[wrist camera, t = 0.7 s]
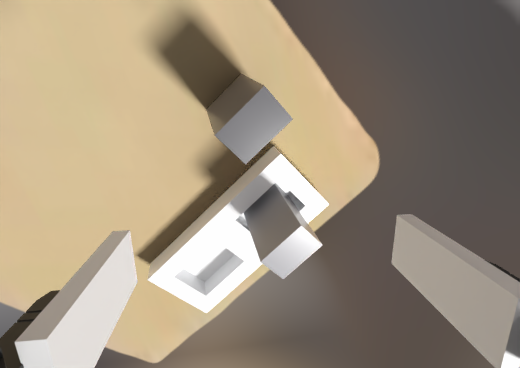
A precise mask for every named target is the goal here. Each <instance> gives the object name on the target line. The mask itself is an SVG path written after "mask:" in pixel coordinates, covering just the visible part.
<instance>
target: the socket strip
mask: <svg viewBox="0 0 520 368" xmlns="http://www.w3.org/2000/svg"><path fill="white" fill-rule="evenodd" d="M328 205H329V204H328V202H327V201H326V200H325V199H324V198H323V197H322V196H321V195H320V194H319V193H318V192H317V190H316V189H315V188H314V187H313V186H312V185H311V184H310V183H309V182H308V181H307V180H306V179H305V178H304V177H303V176H302V175H301V174H300V173H299V172H298V171H297V170H296V168H295V167H294V166H293V165H292V164H291V163H290V162H289V161H288V160H287V159H286V158H285V157H284V156H283V155H282V154H281V153H280V152H279V151H278V150H277V149H276V148H275V146H273V147H272V148H270V149H269V150H268V151H267V152H266V153H265V154H264V155H263V156H262V157H261V158H260V159H259V160H258V161H257V162H256V163H255V164H254V165H253V166H252V167H251V168H250V169H249V170H247V171H246V172H245V173H244V174H243V175H242V176H241V177H240V178H239V179H238V180H237V181H236V182H235V183H234V184H233V185H232V186H231V187H230V188H229V189H228V190H227V191H226V192H224V193H223V194H222V195H221V196H220V197H219V198H218V199H217V200H216V201H215V202H214V203H213V204H212V205H211V206H210V207H209V208H208V209H207V210H206V211H205V212H204V213H203V214H201V215H200V216H199V217H198V218H197V219H196V220H195V221H194V222H193V223H192V224H191V225H190V226H189V227H188V228H187V229H186V230H185V231H184V232H183V233H182V234H181V235H180V236H178V237H177V238H176V239H175V240H174V241H173V242H172V243H171V244H170V245H169V246H168V247H167V248H166V249H165V250H164V251H163V252H162V253H161V254H160V255H159V256H158V257H157V258H155V259H154V260H153V261H152V262H151V263H150V268H149V274H148V281H150V282H152V283H154V284H155V285H157V286H159V287H161V288H163V289H164V290H166V291H168V292H170V293H171V294H173V295H175V296H177V297H178V298H180V299H182V300H184V301H186V302H187V303H189V304H191V305H193V306H194V307H196V308H198V309H200V310H202V311H203V312H205V313H208V312H209V311H210V310H211V309H212V308H213V307H214V306H215V305H217V304H218V303H219V302H220V301H221V300H222V299H223V298H224V297H226V296H227V295H228V294H229V293H230V292H231V291H232V290H233V289H235V288H236V287H237V286H238V285H239V284H240V283H241V282H242V281H244V280H245V279H246V278H247V277H248V276H249V275H250V274H251V273H253V272H254V271H255V270H256V269H257V268H258V267H259V266H260V265H262V264H264V265H265V266H266V267H268V268H269V269H270V270H272V271H273V272H274V273H276V274H277V275H278V276H280V277H281V278H282V279H284V278H285V277H286V276H288V275H289V274H290V273H291V272H292V271H293V270H294V269H296V268H297V267H298V266H299V265H300V264H301V263H303V262H304V261H305V260H306V259H307V258H308V257H309V256H310V255H312V254H313V253H314V252H315V251H316V250H317V249H319V248H320V247H321V246H322V243H321V242H320V241H319V239H318V238H317V236H316V235H315V233H314V232H313V230H312V229H311V227H310V226H309V225H308V223H309V222H310V221H311V220H312V219H313V218H314V217H315V216H317V215H318V214H319V213H320V212H321V211H322V210H323V209H324V208H326V207H327V206H328Z"/></svg>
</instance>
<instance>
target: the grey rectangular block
mask: <svg viewBox="0 0 520 368" xmlns="http://www.w3.org/2000/svg"><path fill="white" fill-rule="evenodd" d="M206 110H207V113H208V116H209V119H210V122H211V126H212V129H213V132H214V135H215V136H216V137H217V138H218V139H219V140H220V141H221V142H222V143H223V144H224V145H225V146H226V147H228V148H229V149H230V150H231V151H232V152H233V153H234V154H235V155H236V156H237V157H238V158H239V159H240V160H241V161H242V162H243V163H245V164H247V163H248V162H249V161H250V160H251V159H252V158H253V157H254V156H255V155H256V154H257V153H258V152H259V151H260V150H261V149H262V148H263V147H264V146H265V145H267V144H268V143H269V142H270V141H271V140H272V139H273V138H274V137H275V136H276V135H277V134H278V133H279V132H280V131H281V130H282V129H283V128H284V127H285V126H286V125H287V124H288V123H289V122H290V121H291V120H293V119H292V117H291V116H290V115H289V114H288V113H287V112H286V110H285V109H284V108H283V107H282V106H281V105H280V103H279V102H278V101H277V100H276V99H275V98H274V96H273V95H272V94H271V93H270V92H269V91H268V89H267V88H266V87H265V86H264V85H262V84H260V83H258V82H256V81H254V80H252V79H250V78H248V77H246V76H244V75H242V74H240V75H239V76H238V77H237V78H236V79H235V80H234V81H233V82H232V84H231V85H230V86H229V87H228V88H227V89H226V90H225V91H224V92H223V93H222V94H221V95H220V96H219V97H218V98H217V99H216V100H215V101H214V102H213V103H212V104H211V105H210V106H209V107H208V108H207V109H206Z"/></svg>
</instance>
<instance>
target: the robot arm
mask: <svg viewBox="0 0 520 368" xmlns="http://www.w3.org/2000/svg"><path fill="white" fill-rule="evenodd" d="M392 264H393V265H394V266H395V267H396V268H397V269H398V270H399V271H400V272H401V273H402V274H403V275H404V276H405V277H406V278H407V279H408V280H409V281H410V282H411V283H412V284H413V285H414V286H415V287H416V288H417V289H418V290H419V291H420V292H421V293H422V294H423V296H425V298H426V299H427V300H429V301H430V303H431V304H433V306H434V307H435V308H436V309H438V311H439V312H440V313H441V314H442V315H443V316H444V317H445V318H446V319H447V320H448V321H449V322H450V323H451V324H452V325H453V326H454V327H455V328H456V329H457V330H458V331H459V332H460V333H461V334H462V335H463V336H464V337H465V338H466V339H467V340H468V341H469V342H470V343H471V344H472V345H473V346H474V347H475V348H476V349H477V350H478V351H479V352H480V353H481V354H482V355H483V356H484V357H485V358H486V359H487V360H488V361H489V362H490V363H491V364H492V365H493V366H494V367H495V368H520V279H519V278H517V277H515V276H514V275H512V274H510V273H509V272H508V271H506V270H504V269H503V268H501V267H499V266H498V265H496V264H493V263H491V262H488V261H486V260H484V259H482V258H480V257H479V256H477V255H475V254H474V253H472V252H471V251H469V250H468V249H466V248H464V247H463V246H461V245H460V244H458V243H456V242H455V241H453V240H452V239H450V238H448V237H447V236H445V235H444V234H442V233H440V232H439V231H437V230H436V229H434V228H432V227H431V226H429V225H428V224H426V223H424V222H423V221H421V220H420V219H418V218H417V217H415V216H413V215H412V214H410V215H409V214H408V215H397V221H396V229H395V239H394V246H393V255H392ZM136 284H137V275H136V268H135V262H134V255H133V248H132V242H131V235H130V230H127V231H113V232H112V233H111V234H110V235H109V236H108V237H107V238H106V240H105V241H104V242H103V243H102V244H101V245H100V246H99V247H98V249H97V250H96V251H95V252H94V253H93V254H92V255H91V256H90V258H89V259H88V260H87V261H86V262H85V263H84V264H83V265H82V267H81V268H80V269H79V270H78V271H77V272H76V273H75V274H74V276H73V277H72V278H71V279H70V280H69V281H68V282H67V283H66V285H65V286H64V287H63V288H62V289H61V290H58V291H51V292H49V293H48V294H46V295H44V296H43V297H41V298H40V299H38V300H37V301H36V302H35V303H34V304H33V305H32V306H31V307H30V308H29V309H28V310H27V311H26V313H25V314H23V315H22V316H21V317H20V319H18V321H17V323H15V324H14V325H13V326H12V327H11V328H10V329H9V330H8V331H7V332H6V333H5V334H4V335H3V336H2V337H1V338H0V368H94V367H95V365H96V363H97V361H98V359H99V357H100V355H101V353H102V351H103V349H104V347H105V345H106V343H107V341H108V339H109V337H110V335H111V333H112V331H113V329H114V327H115V325H116V323H117V321H118V319H119V317H120V315H121V313H122V311H123V309H124V307H125V305H126V304H127V302H128V300H129V298H130V296H131V294H132V292H133V290H134V288H135V286H136Z"/></svg>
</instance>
